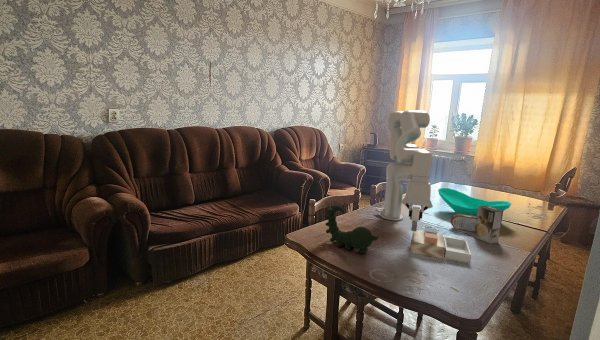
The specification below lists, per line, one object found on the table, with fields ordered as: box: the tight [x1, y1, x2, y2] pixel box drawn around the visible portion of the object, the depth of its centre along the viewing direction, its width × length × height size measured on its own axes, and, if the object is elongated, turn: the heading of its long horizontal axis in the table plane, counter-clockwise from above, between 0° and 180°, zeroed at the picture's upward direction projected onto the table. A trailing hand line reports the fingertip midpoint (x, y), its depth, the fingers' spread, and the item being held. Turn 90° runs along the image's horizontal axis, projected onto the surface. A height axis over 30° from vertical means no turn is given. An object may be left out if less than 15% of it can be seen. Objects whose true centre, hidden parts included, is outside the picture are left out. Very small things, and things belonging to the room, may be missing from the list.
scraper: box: [410, 205, 421, 232], centre depth 140 cm, size 3×16×8 cm, turn 159°
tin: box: [450, 213, 477, 233], centre depth 164 cm, size 15×3×8 cm, turn 71°
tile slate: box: [423, 227, 438, 236], centre depth 142 cm, size 5×5×2 cm
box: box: [443, 235, 472, 265], centre depth 136 cm, size 10×16×4 cm, turn 159°
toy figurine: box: [324, 205, 379, 255], centre depth 135 cm, size 9×19×25 cm
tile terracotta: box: [424, 233, 438, 244], centre depth 136 cm, size 5×5×2 cm
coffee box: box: [473, 205, 504, 244], centre depth 153 cm, size 9×6×16 cm
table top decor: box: [437, 187, 512, 216], centre depth 186 cm, size 40×28×13 cm
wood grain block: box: [410, 229, 445, 259], centre depth 140 cm, size 13×16×5 cm
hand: (415, 218), depth 140 cm, fingers closed on scraper, 3 cm apart
